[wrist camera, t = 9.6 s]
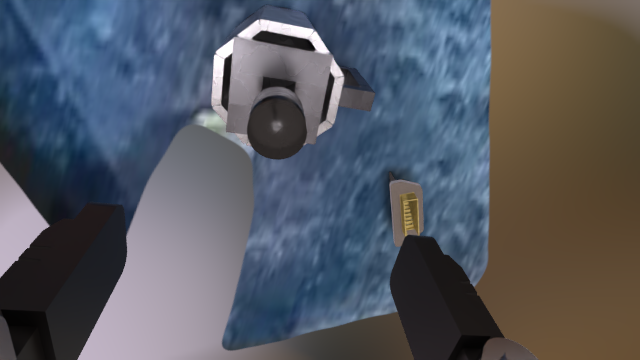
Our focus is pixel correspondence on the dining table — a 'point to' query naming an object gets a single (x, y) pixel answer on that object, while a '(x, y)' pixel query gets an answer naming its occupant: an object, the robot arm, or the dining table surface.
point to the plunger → (277, 111)
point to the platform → (405, 208)
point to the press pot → (283, 73)
